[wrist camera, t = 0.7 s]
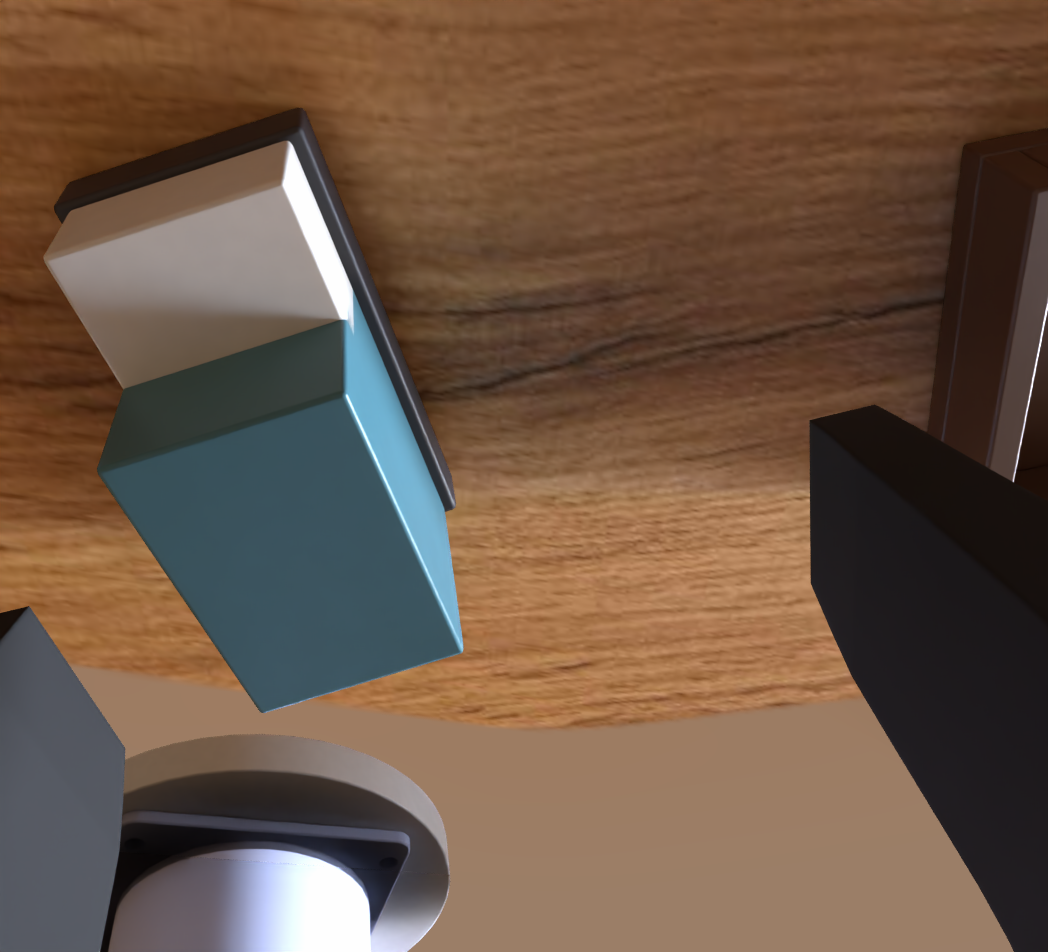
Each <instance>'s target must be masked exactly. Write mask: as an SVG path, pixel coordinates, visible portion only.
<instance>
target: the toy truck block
mask: <svg viewBox="0 0 1048 952" xmlns="http://www.w3.org/2000/svg"><path fill="white" fill-rule="evenodd" d="M54 210H55V213H56V215H57V216H58V218H59V220H60V221H61V223H62V226H61V227H60V229H59V231H58V232H57V234H56V236H55V238H54V239H53V241H52V243H51V245H50V246H49V248H48V250H47V252H46V253H45V255H44V262H45V264H46V265H47V267H48V269H49V270H50V272H51V273H52V275H53V277H54V278H55V280H56V281H57V283H58V285H59V286H60V288H61V289H62V291H63V293H64V294H65V296H66V298H67V299H68V301H69V302H70V304H71V306H72V307H73V309H74V310H75V312H76V314H77V315H78V317H79V319H80V320H81V322H82V323H83V325H84V327H85V328H86V330H87V331H88V333H89V335H90V336H91V338H92V340H93V341H94V343H95V344H96V346H97V348H98V349H99V351H100V352H101V354H102V356H103V357H104V359H105V361H106V362H107V364H108V365H109V367H110V369H111V370H112V372H113V373H114V375H115V377H116V378H117V380H118V382H119V383H120V385H121V386H122V388H123V392H122V395H121V398H120V401H119V404H118V407H117V410H116V413H115V416H114V419H113V422H112V425H111V428H110V431H109V434H108V437H107V440H106V443H105V446H104V449H103V452H102V455H101V458H100V461H99V464H98V467H97V472H98V475H99V476H100V478H101V479H102V481H103V482H104V483H105V485H106V486H107V488H108V489H109V491H110V492H111V494H112V495H113V497H114V498H115V500H116V501H117V503H118V504H119V506H120V507H121V508H122V510H123V511H124V513H125V514H126V516H127V517H128V519H129V520H130V522H131V523H132V525H133V526H134V528H135V529H136V530H137V532H138V533H139V535H140V536H141V538H142V539H143V541H144V542H145V544H146V545H147V547H148V548H149V550H150V551H151V552H152V554H153V555H154V557H155V558H156V560H157V561H158V563H159V564H160V566H161V567H162V569H163V570H164V572H165V573H166V575H167V576H168V577H169V579H170V580H171V582H172V583H173V585H174V586H175V588H176V589H177V591H178V592H179V594H180V595H181V597H182V598H183V599H184V601H185V602H186V604H187V605H188V607H189V608H190V610H191V611H192V613H193V614H194V616H195V617H196V619H197V620H198V621H199V623H200V624H201V626H202V627H203V629H204V630H205V632H206V633H207V635H208V636H209V638H210V639H211V641H212V642H213V644H214V645H215V646H216V648H217V649H218V651H219V652H220V654H221V655H222V657H223V658H224V660H225V661H226V663H227V664H228V666H229V667H230V668H231V670H232V671H233V673H234V674H235V676H236V677H237V679H238V680H239V682H240V683H241V685H242V686H243V688H244V689H245V690H246V692H247V693H248V695H249V696H250V698H251V699H252V701H253V702H254V704H255V705H256V707H257V708H258V710H259V711H260V712H261V713H266V712H269V711H272V710H276V709H279V708H283V707H286V706H289V705H292V704H296V703H299V702H302V701H306V700H309V699H312V698H315V697H319V696H322V695H325V694H329V693H332V692H335V691H339V690H342V689H345V688H348V687H352V686H355V685H358V684H362V683H365V682H368V681H371V680H375V679H378V678H381V677H385V676H388V675H391V674H394V673H398V672H401V671H404V670H408V669H411V668H414V667H418V666H421V665H424V664H427V663H431V662H434V661H437V660H441V659H444V658H447V657H450V656H454V655H457V654H460V653H462V652H463V640H462V633H461V626H460V618H459V611H458V604H457V597H456V590H455V582H454V575H453V568H452V561H451V554H450V546H449V539H448V532H447V525H446V518H445V512H446V511H449V510H452V509H454V508H455V505H456V502H455V495H454V489H453V482H452V476H451V473H450V471H449V468H448V466H447V463H446V461H445V458H444V456H443V453H442V451H441V448H440V446H439V443H438V441H437V438H436V436H435V433H434V431H433V428H432V426H431V423H430V421H429V418H428V416H427V413H426V411H425V408H424V406H423V403H422V401H421V398H420V396H419V394H418V391H417V389H416V386H415V384H414V381H413V379H412V376H411V374H410V371H409V369H408V366H407V364H406V361H405V359H404V356H403V354H402V351H401V349H400V346H399V344H398V341H397V339H396V336H395V334H394V331H393V329H392V326H391V324H390V321H389V319H388V316H387V314H386V311H385V309H384V306H383V304H382V301H381V299H380V296H379V294H378V291H377V289H376V286H375V284H374V281H373V279H372V276H371V274H370V271H369V269H368V266H367V264H366V261H365V259H364V256H363V254H362V251H361V249H360V246H359V244H358V241H357V239H356V236H355V234H354V231H353V229H352V226H351V224H350V221H349V219H348V216H347V214H346V211H345V209H344V206H343V204H342V201H341V199H340V196H339V194H338V191H337V189H336V186H335V184H334V181H333V179H332V176H331V174H330V171H329V169H328V166H327V164H326V161H325V159H324V156H323V154H322V151H321V149H320V146H319V144H318V141H317V139H316V136H315V134H314V131H313V129H312V126H311V124H310V121H309V119H308V116H307V114H306V112H305V111H304V110H303V108H295V109H292V110H288V111H285V112H282V113H279V114H276V115H273V116H270V117H267V118H264V119H261V120H258V121H255V122H252V123H249V124H246V125H243V126H240V127H237V128H234V129H231V130H228V131H225V132H221V133H218V134H215V135H212V136H209V137H206V138H203V139H200V140H197V141H194V142H191V143H188V144H185V145H182V146H179V147H176V148H173V149H170V150H167V151H164V152H161V153H158V154H154V155H151V156H148V157H145V158H142V159H139V160H136V161H133V162H130V163H127V164H124V165H121V166H118V167H115V168H112V169H109V170H106V171H103V172H100V173H97V174H94V175H91V176H87V177H84V178H81V179H78V180H75V181H72V182H70V183H69V184H68V185H67V186H66V188H65V189H64V191H63V193H62V194H61V196H60V197H59V199H58V201H57V202H56V204H55V206H54Z"/></svg>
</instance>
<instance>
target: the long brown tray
mask: <svg viewBox="0 0 1048 952" xmlns="http://www.w3.org/2000/svg"><path fill="white" fill-rule="evenodd" d="M928 434H930V435H931V436H933V437H935V438H937V439H938V440H940V441H942V442H944V443H945V444H947V445H949V446H951V447H952V448H954V449H956V450H957V451H959V452H961V453H963V454H965V455H966V456H968V457H970V458H972V459H973V460H975V461H977V462H979V463H980V464H982V465H984V466H986V467H987V468H989V469H991V470H993V471H995V472H996V473H998V474H1000V475H1002V476H1003V477H1005V478H1007V479H1009V480H1011V481H1012V482H1014V483H1016V484H1018V485H1020V486H1021V487H1023V488H1025V489H1027V490H1029V491H1030V492H1032V493H1034V494H1036V495H1038V496H1039V497H1041V498H1043V499H1045V500H1047V501H1048V128H1047V129H1042V130H1037V131H1031V132H1026V133H1021V134H1016V135H1011V136H1006V137H1001V138H996V139H991V140H986V141H981V142H976V143H971V144H966V145H964V147H963V154H962V162H961V170H960V178H959V185H958V193H957V201H956V209H955V217H954V225H953V233H952V241H951V249H950V257H949V265H948V273H947V281H946V289H945V297H944V305H943V313H942V321H941V329H940V337H939V345H938V353H937V361H936V369H935V377H934V385H933V393H932V401H931V409H930V417H929V425H928Z"/></svg>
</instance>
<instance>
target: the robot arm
mask: <svg viewBox="0 0 1048 952" xmlns="http://www.w3.org/2000/svg"><path fill="white" fill-rule="evenodd" d="M810 546H811V585H812V587H813V590H814V592H815V594H816V597H817V599H818V601H819V604H820V606H821V608H822V610H823V613H824V615H825V617H826V620H827V622H828V624H829V627H830V629H831V631H832V634H833V636H834V638H835V640H836V642H837V645H838V647H839V649H840V651H841V653H842V656H843V658H844V660H845V662H846V664H847V667H848V669H849V671H850V673H851V675H852V677H853V679H854V680H855V682H856V684H857V686H858V687H859V689H860V691H861V692H862V694H863V696H864V698H865V699H866V701H867V703H868V704H869V706H870V707H871V709H872V711H873V713H874V714H875V716H876V718H877V719H878V721H879V723H880V724H881V726H882V727H883V729H884V731H885V733H886V734H887V736H888V738H889V739H890V741H891V742H892V744H893V746H894V748H895V749H896V751H897V752H898V754H899V756H900V757H901V759H902V761H903V762H904V764H905V766H906V767H907V769H908V771H909V772H910V774H911V776H912V777H913V779H914V780H915V782H916V784H917V786H918V787H919V789H920V790H921V792H922V794H923V795H924V797H925V799H926V800H927V802H928V804H929V805H930V807H931V809H932V810H933V812H934V813H935V815H936V817H937V818H938V820H939V821H940V823H941V825H942V827H943V828H944V830H945V832H946V833H947V835H948V837H949V838H950V840H951V841H952V843H953V845H954V846H955V848H956V850H957V851H958V853H959V855H960V856H961V858H962V859H963V861H964V863H965V865H966V866H967V868H968V869H969V871H970V873H971V874H972V876H973V878H974V879H975V881H976V883H977V884H978V886H979V888H980V890H981V891H982V893H983V895H984V897H985V898H986V900H987V902H988V904H989V906H990V908H991V909H992V911H993V913H994V915H995V917H996V918H997V920H998V922H999V924H1000V926H1001V927H1002V929H1003V931H1004V933H1005V935H1006V936H1007V938H1008V940H1009V942H1010V944H1011V947H1012V949H1013V951H1014V952H1048V501H1047V500H1045V499H1043V498H1041V497H1039V496H1038V495H1036V494H1034V493H1032V492H1030V491H1029V490H1027V489H1025V488H1023V487H1021V486H1020V485H1018V484H1016V483H1014V482H1012V481H1011V480H1009V479H1007V478H1005V477H1003V476H1002V475H1000V474H998V473H996V472H995V471H993V470H991V469H989V468H987V467H986V466H984V465H982V464H980V463H979V462H977V461H975V460H973V459H972V458H970V457H968V456H966V455H965V454H963V453H961V452H959V451H957V450H956V449H954V448H952V447H951V446H949V445H947V444H945V443H944V442H942V441H940V440H938V439H937V438H935V437H933V436H931V435H930V434H928V433H926V432H924V431H923V430H921V429H919V428H917V427H915V426H914V425H912V424H910V423H908V422H907V421H905V420H903V419H901V418H899V417H898V416H896V415H894V414H892V413H890V412H888V411H886V410H884V409H883V408H881V407H879V406H877V405H871V406H867V407H863V408H859V409H855V410H850V411H846V412H842V413H838V414H834V415H829V416H825V417H821V418H817V419H813V420H810ZM124 765H125V747H124V746H123V744H122V743H121V741H120V740H119V738H118V737H117V735H116V734H115V732H114V731H113V729H112V728H111V727H110V725H109V724H108V722H107V721H106V719H105V718H104V716H103V715H102V713H101V712H100V710H99V709H98V707H97V706H96V704H95V703H94V701H93V700H92V698H91V697H90V696H89V694H88V692H87V691H86V689H85V688H84V687H83V685H82V684H81V682H80V681H79V679H78V678H77V676H76V675H75V673H74V672H73V670H72V669H71V667H70V666H69V664H68V663H67V661H66V660H65V658H64V657H63V655H62V654H61V653H60V651H59V650H58V648H57V647H56V645H55V644H54V642H53V641H52V639H51V638H50V636H49V635H48V633H47V632H46V630H45V629H44V627H43V626H42V624H41V623H40V621H39V620H38V618H37V617H36V616H35V614H34V613H33V611H32V610H31V608H30V607H29V606H28V607H24V608H20V609H16V610H11V611H7V612H3V613H0V952H371V947H370V937H371V935H372V933H373V930H374V928H375V926H376V924H377V922H378V920H379V917H380V915H381V913H382V911H383V909H384V907H385V905H386V902H387V900H388V898H389V896H390V894H391V892H392V889H393V887H394V885H395V883H396V881H397V879H398V877H399V874H400V872H401V870H402V868H403V866H404V864H405V861H406V859H407V857H408V855H409V853H410V839H409V837H408V835H406V834H405V833H403V832H400V831H393V830H381V829H368V828H356V827H344V826H332V825H320V824H308V823H296V822H284V821H272V820H260V819H247V818H235V817H223V816H211V815H199V814H187V813H175V812H163V811H151V810H133V811H129V812H127V813H125V814H124V815H122V808H123V788H124Z"/></svg>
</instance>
